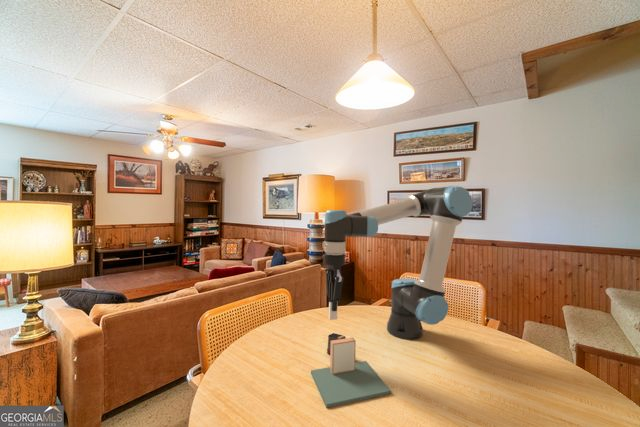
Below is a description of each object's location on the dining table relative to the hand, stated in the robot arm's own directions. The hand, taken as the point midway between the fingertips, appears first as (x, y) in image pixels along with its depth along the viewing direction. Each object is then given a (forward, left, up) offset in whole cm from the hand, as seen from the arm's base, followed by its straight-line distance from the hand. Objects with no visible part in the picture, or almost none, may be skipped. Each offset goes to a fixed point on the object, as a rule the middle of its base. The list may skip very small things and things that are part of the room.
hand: (332, 318), depth 97 cm
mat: (0, +14, -15) cm, 20 cm away
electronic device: (-3, -1, -15) cm, 15 cm away
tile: (0, +9, -14) cm, 16 cm away
